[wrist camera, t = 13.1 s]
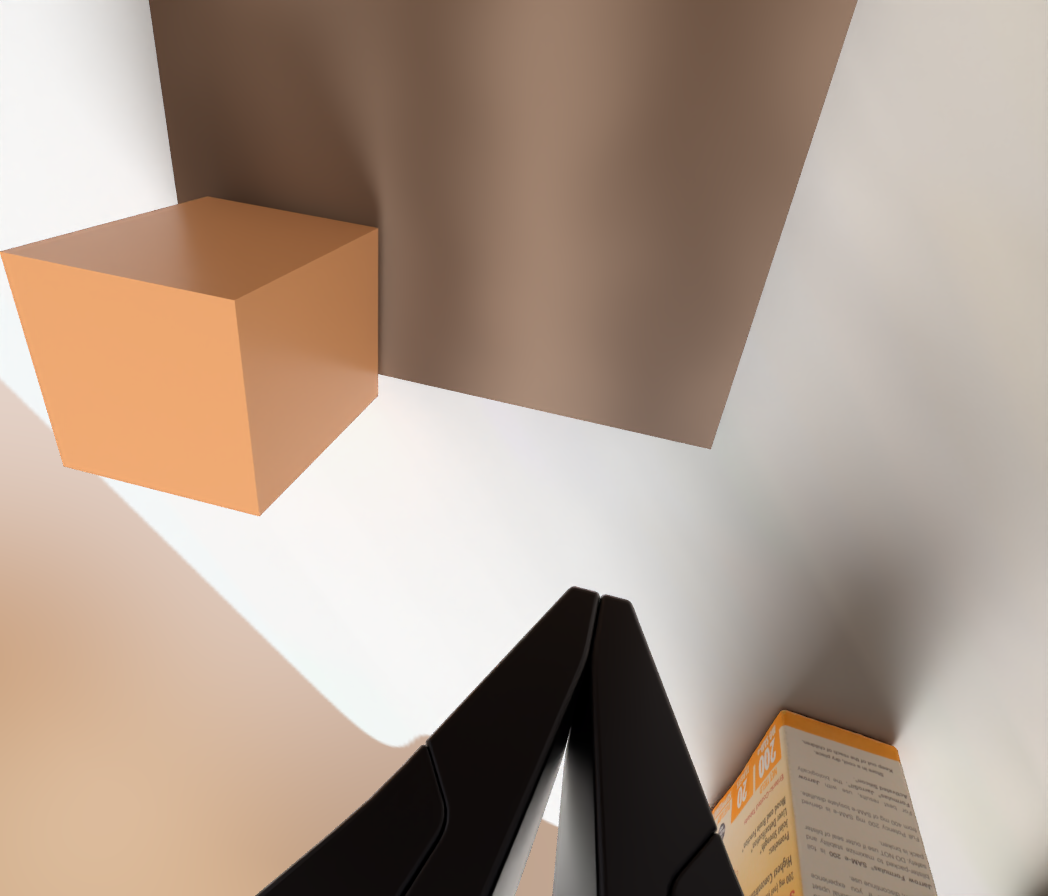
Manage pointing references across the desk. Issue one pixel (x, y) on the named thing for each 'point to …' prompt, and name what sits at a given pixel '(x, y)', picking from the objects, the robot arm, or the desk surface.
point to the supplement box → (822, 816)
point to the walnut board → (523, 175)
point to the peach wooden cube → (202, 344)
